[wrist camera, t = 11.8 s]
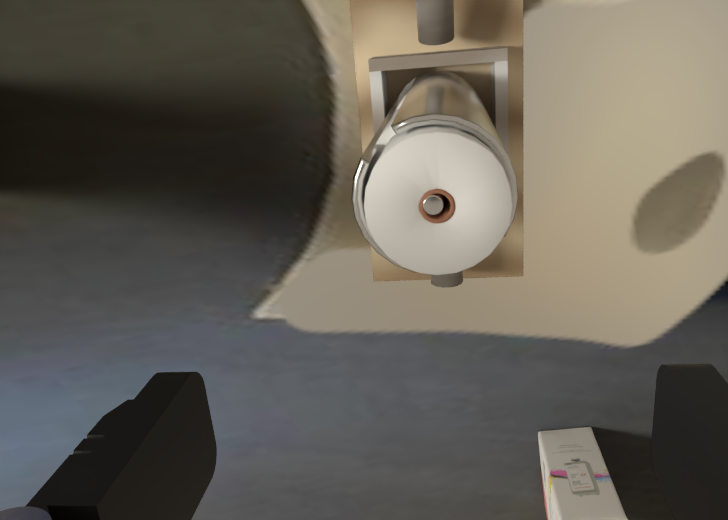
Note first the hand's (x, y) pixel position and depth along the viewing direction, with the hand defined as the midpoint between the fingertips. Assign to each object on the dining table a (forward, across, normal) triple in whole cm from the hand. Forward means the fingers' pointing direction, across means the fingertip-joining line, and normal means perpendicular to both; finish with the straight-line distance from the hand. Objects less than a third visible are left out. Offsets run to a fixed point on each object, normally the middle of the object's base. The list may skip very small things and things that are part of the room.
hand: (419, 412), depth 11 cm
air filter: (+39, 0, 0) cm, 39 cm away
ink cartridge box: (+40, -10, +32) cm, 53 cm away
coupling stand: (+40, 0, 0) cm, 40 cm away
